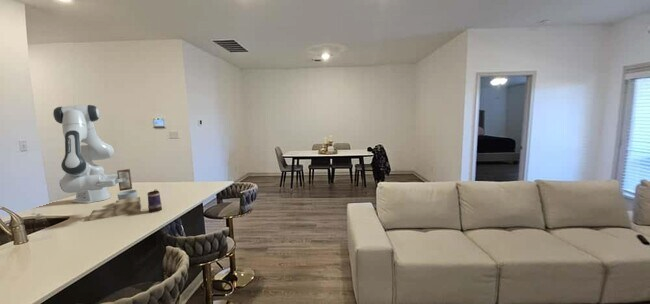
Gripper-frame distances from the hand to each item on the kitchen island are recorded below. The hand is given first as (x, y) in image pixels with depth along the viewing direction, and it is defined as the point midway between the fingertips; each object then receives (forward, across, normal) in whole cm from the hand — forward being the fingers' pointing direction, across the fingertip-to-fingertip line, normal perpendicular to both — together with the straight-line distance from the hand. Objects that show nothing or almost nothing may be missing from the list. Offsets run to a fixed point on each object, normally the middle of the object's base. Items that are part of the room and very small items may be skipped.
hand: (126, 178), depth 173 cm
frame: (-1, 0, +7) cm, 7 cm away
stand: (-7, 0, +20) cm, 22 cm away
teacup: (-2, +22, +21) cm, 31 cm away
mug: (+14, -6, +21) cm, 25 cm away
